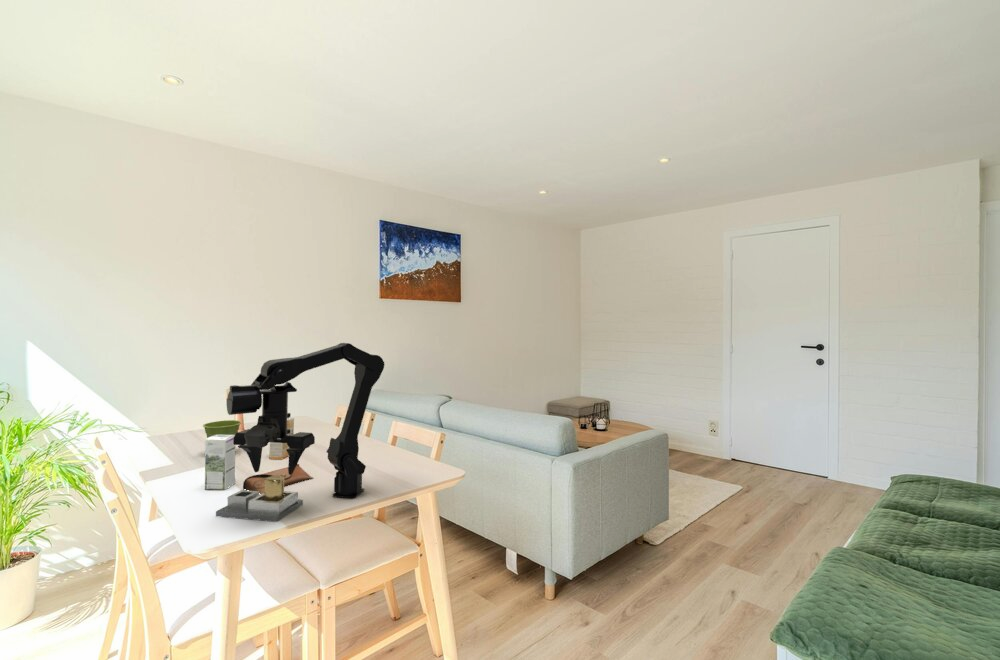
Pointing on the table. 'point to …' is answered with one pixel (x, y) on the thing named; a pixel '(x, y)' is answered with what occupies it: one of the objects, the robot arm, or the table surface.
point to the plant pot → (222, 427)
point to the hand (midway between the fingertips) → (273, 473)
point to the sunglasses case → (259, 480)
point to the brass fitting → (274, 488)
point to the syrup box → (219, 462)
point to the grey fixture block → (259, 506)
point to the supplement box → (281, 444)
